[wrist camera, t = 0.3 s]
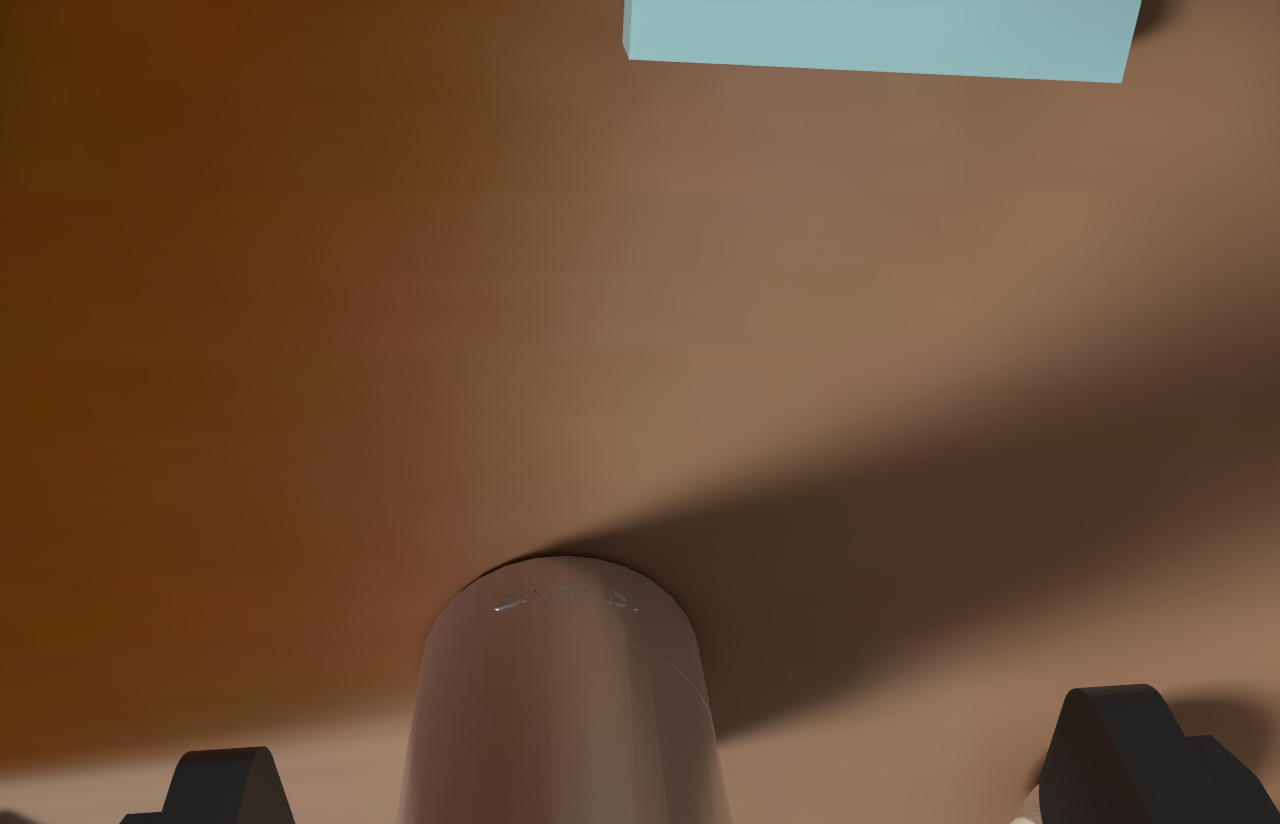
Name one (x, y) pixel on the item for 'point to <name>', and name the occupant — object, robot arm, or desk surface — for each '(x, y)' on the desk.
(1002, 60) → the frame
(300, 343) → the desk surface
